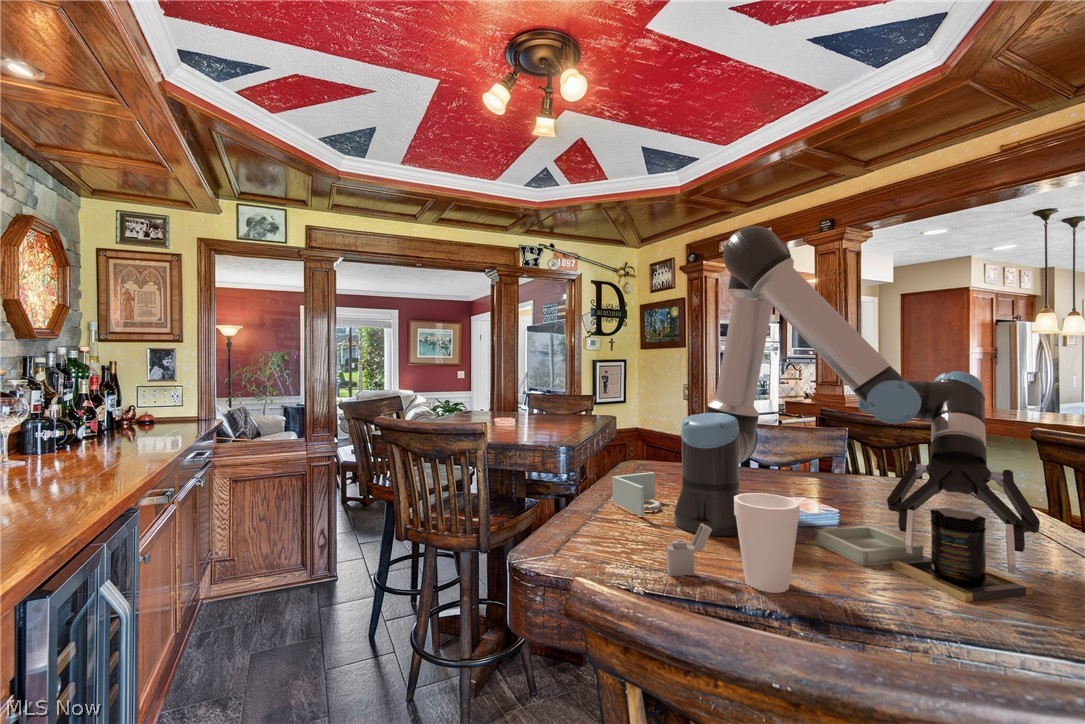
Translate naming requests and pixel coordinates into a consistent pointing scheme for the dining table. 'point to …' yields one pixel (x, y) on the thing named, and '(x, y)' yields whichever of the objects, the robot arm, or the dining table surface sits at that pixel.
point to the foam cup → (767, 539)
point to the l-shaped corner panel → (635, 492)
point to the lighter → (686, 553)
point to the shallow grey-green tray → (866, 545)
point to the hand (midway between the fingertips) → (957, 558)
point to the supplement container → (958, 547)
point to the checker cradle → (1003, 590)
